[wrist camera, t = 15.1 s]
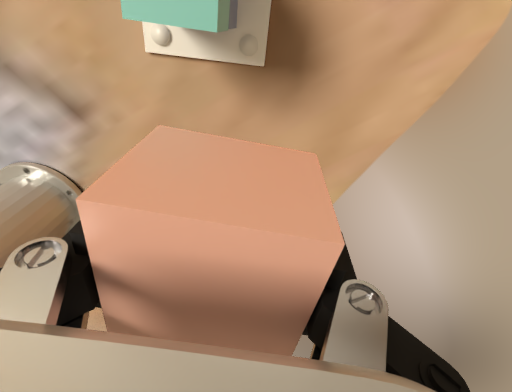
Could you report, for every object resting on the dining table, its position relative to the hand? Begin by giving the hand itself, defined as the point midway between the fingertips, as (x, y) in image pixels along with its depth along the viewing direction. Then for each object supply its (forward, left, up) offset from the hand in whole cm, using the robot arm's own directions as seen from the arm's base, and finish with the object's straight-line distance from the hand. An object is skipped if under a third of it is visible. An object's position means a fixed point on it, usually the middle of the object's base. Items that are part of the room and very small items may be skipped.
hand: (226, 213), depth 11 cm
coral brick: (0, 0, -1) cm, 1 cm away
